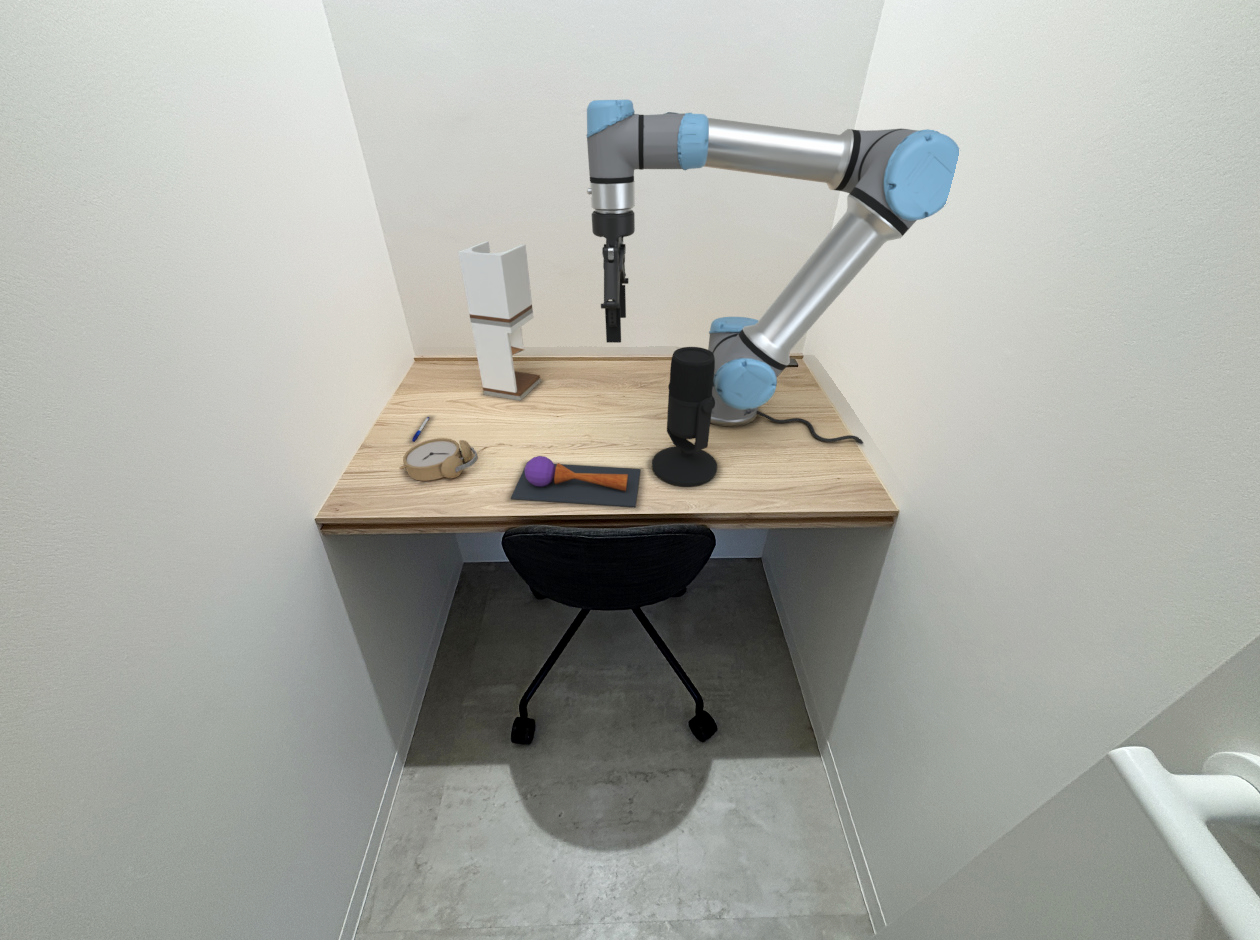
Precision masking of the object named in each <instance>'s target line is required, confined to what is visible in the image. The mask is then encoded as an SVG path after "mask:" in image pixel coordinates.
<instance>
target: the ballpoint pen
mask: <svg viewBox="0 0 1260 940" xmlns="http://www.w3.org/2000/svg"><path fill="white" fill-rule="evenodd" d="M429 419H430V416H427V417H426V418H425V419H424V421H423V423H422V424H421V426H420V427H419V428H418V430H417V431H415V433H414V435H413V437H412V439H411V441H412V442H413V443H414V442H416V441H417V439H418V438H419V436H420V434H421V433H422V431H423V429H424V428H425V426H426V425H427V423H428V421H429Z"/></svg>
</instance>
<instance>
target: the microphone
mask: <svg viewBox="0 0 1260 940" xmlns="http://www.w3.org/2000/svg"><path fill="white" fill-rule="evenodd" d="M670 360H671V361H670V371H669V383H668V387H667V388H668V398H667V400H668V401H667V416H666V417H667V418H666V432H667V434H668V436H669V438H670V440H671V442H672V444H673V446H669V447H666V448H664V449H661V450H660V451H658V452H657V453H656V454H655V455H654V456H653V458H652V461H651V469H652V472H653V474H654V475H655V476H656V477H657V478H658V479H659V480H661V481H662V482H664V483H666V484H669V485H671V486H675V487H681V488H692V487H699V486H702V485H705V484H708V483H710V482H711V481H712V480H713V479H714V478H715V477H716V475H717V472H718V463H717V461H716V459H715V457H714V456H712V455H711V454H710V453H709V452H707V451H706V450H705V449H707V448H708V446H709V438H710V437H709V436H710V429H711V423H710V422H711V413H712V409H713V408H714V407H715V399H714V397H713V396H712V389H713V380H714V370H715V358H714V354H713V353H712V352H711V351H709V350H708V348H704V347H700V346H683V347H679V348H677V349H676V350H674V351H673V353H672V356H671V359H670ZM693 439H694V443H693V442H691V441H690V440H693Z"/></svg>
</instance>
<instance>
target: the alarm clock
mask: <svg viewBox="0 0 1260 940" xmlns="http://www.w3.org/2000/svg"><path fill="white" fill-rule="evenodd" d="M473 454H474V456H473V458H472V455H473ZM463 461H464V462H465V463H463ZM477 461H478V453H477V451H476V450H475V448H474V447H472V446H471V445H470V443H469V442H468V441H467V440H464V439H459V440H458V442H457V440H455V439H452V438H445V437H437V438H432V439H427V440H424V441H422V442H419V443H417V444H415V445H413V446H412V447H410V448H409V449H408V450H407V451H406V452H405V453H404V455H403V457H402V463H403V464H404V465H402V466H400V467H399V470H405V469H406V472H407V474H408V476H409V477H410V479H413V480H416V481H422V482H425V481H435V480H438V479H442V478H444V477H445V478H446V479H456V478H458V477H459V476H460V475H461V474H462V472H463V470H464V469H468V468H470V467H472V466H473V465H474V464H476V462H477Z"/></svg>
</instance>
